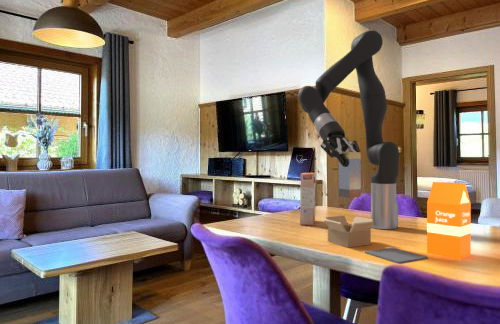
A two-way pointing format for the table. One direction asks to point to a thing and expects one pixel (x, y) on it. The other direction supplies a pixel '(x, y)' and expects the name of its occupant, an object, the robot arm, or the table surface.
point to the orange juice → (449, 220)
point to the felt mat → (396, 255)
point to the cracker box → (307, 199)
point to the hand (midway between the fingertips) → (352, 164)
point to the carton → (349, 231)
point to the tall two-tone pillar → (350, 175)
